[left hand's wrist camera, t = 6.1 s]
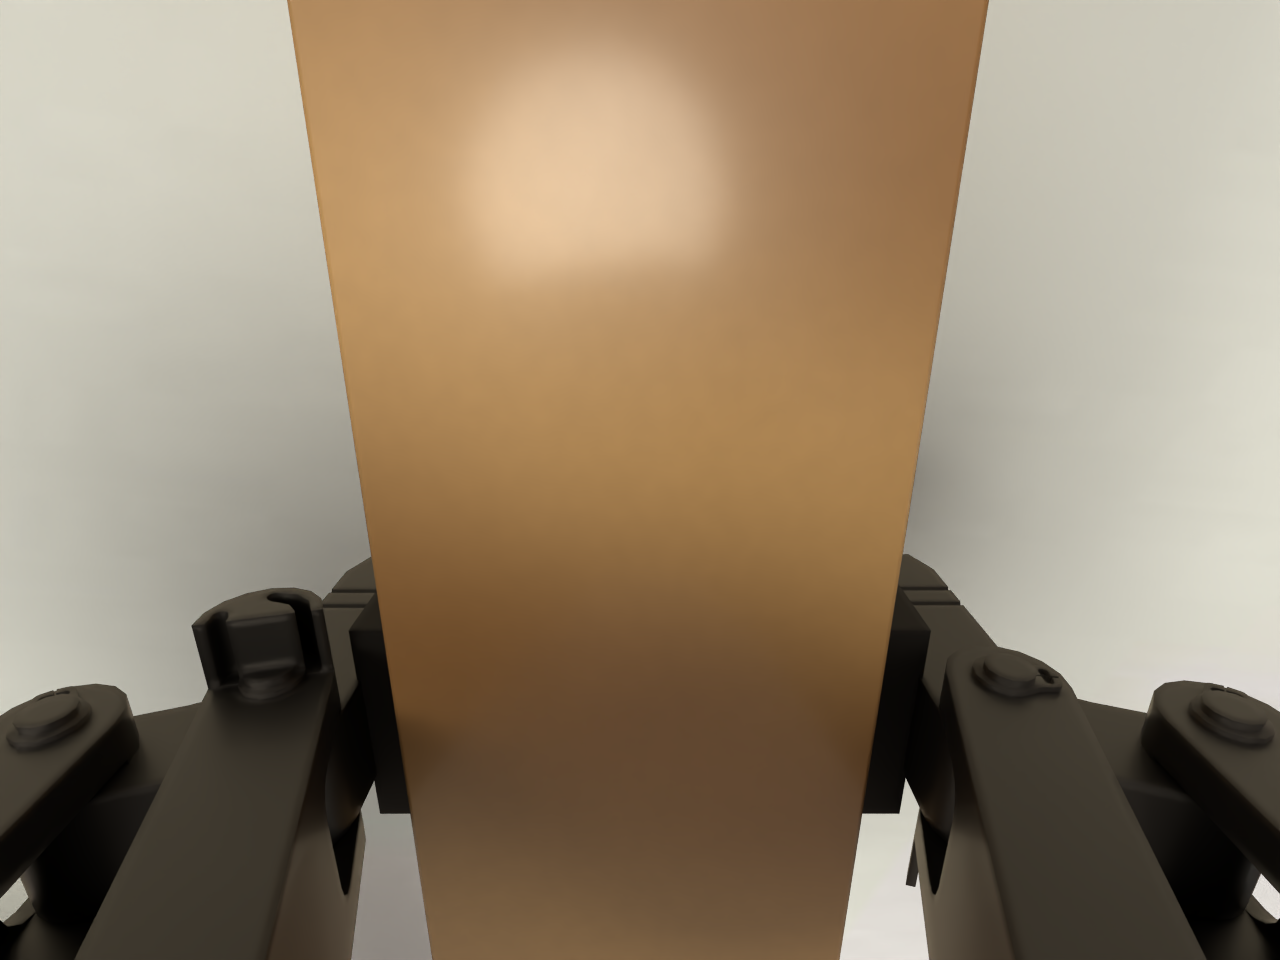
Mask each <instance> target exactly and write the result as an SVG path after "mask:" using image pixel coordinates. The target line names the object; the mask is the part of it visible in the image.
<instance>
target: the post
mask: <svg viewBox="0 0 1280 960" xmlns="http://www.w3.org/2000/svg"><path fill="white" fill-rule="evenodd" d="M287 2H288V9H289V15H290V22H291V29H292V35H293V42H294V48H295V55H296V62H297V68H298V75H299V81H300V88H301V95H302V101H303V108H304V114H305V121H306V128H307V134H308V141H309V147H310V154H311V161H312V167H313V174H314V180H315V187H316V194H317V200H318V207H319V213H320V220H321V227H322V233H323V240H324V246H325V253H326V260H327V266H328V273H329V279H330V286H331V293H332V299H333V306H334V312H335V319H336V326H337V332H338V339H339V345H340V352H341V359H342V365H343V372H344V379H345V385H346V392H347V398H348V405H349V412H350V418H351V425H352V431H353V438H354V445H355V451H356V458H357V464H358V471H359V478H360V484H361V491H362V497H363V504H364V511H365V517H366V524H367V530H368V537H369V544H370V550H371V557H372V563H373V570H374V577H375V583H376V590H377V596H378V603H379V610H380V616H381V623H382V629H383V636H384V643H385V649H386V656H387V662H388V669H389V676H390V682H391V689H392V695H393V702H394V709H395V715H396V722H397V728H398V735H399V742H400V748H401V755H402V762H403V768H404V775H405V781H406V788H407V795H408V801H409V808H410V814H411V821H412V828H413V834H414V841H415V847H416V854H417V861H418V867H419V874H420V880H421V887H422V894H423V900H424V907H425V913H426V920H427V927H428V933H429V940H430V946H431V953H432V960H839V959H840V952H841V946H842V940H843V933H844V927H845V920H846V914H847V907H848V901H849V895H850V888H851V882H852V875H853V869H854V863H855V856H856V850H857V843H858V837H859V830H860V824H861V818H862V811H863V805H864V798H865V792H866V786H867V779H868V773H869V766H870V760H871V753H872V747H873V741H874V734H875V728H876V721H877V715H878V708H879V702H880V696H881V689H882V683H883V676H884V670H885V664H886V657H887V651H888V644H889V638H890V631H891V625H892V619H893V612H894V606H895V599H896V593H897V587H898V580H899V574H900V567H901V561H902V554H903V548H904V542H905V535H906V529H907V522H908V516H909V510H910V503H911V497H912V490H913V484H914V477H915V471H916V465H917V458H918V452H919V445H920V439H921V433H922V426H923V420H924V413H925V407H926V400H927V394H928V388H929V381H930V375H931V368H932V362H933V355H934V349H935V343H936V336H937V330H938V323H939V317H940V311H941V304H942V298H943V291H944V285H945V278H946V272H947V266H948V259H949V253H950V246H951V240H952V234H953V227H954V221H955V214H956V208H957V201H958V195H959V189H960V182H961V176H962V169H963V163H964V157H965V150H966V144H967V137H968V131H969V124H970V118H971V112H972V105H973V99H974V92H975V86H976V80H977V73H978V67H979V60H980V54H981V47H982V41H983V35H984V28H985V22H986V15H987V9H988V2H989V0H287Z"/></svg>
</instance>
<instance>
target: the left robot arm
mask: <svg viewBox="0 0 1280 960" xmlns="http://www.w3.org/2000/svg"><path fill="white" fill-rule="evenodd" d="M192 629H193V633H194V637H195V641H196V644H197V648H198V652H199V655H200V659H201V663H202V667H203V670H204V674H205V678H206V682H207V685H208V691H207V693H206V695H205V697H204V699H203V701H202V702H200V703H196V704H192V705H188V706H183V707H178V708H173V709H168V710H163V711H158V712H153V713H148V714H143V715H138V716H133V714H132V711H131V708H130V705H129V702H128V698H127V695H126V694H125V693H124V692H123V691H121V690H120V689H118V688H117V687H116V686H109V685H102V684H90V685H82V686H70V687H65V688H61V689H57V691H50V692H47V693H44V694H41V695H38V696H36V697H35V698H33V699H32V700H29V701H27V702H25V703H23V704H21V705H18V706H16V707H14V708H12V709H10V710H9V711H7V712H6V713H4V714H3V715H1V716H0V898H1V897H2V896H3V895H4V894H5V893H6V892H7V891H8V889H9V888H10V887H11V886H12V885H13V884H14V883H15V882H16V881H17V880H18V879H19V877H20V879H21V881H22V883H23V885H24V888H25V890H26V892H27V895H28V897H29V898H28V899H27V900H26V901H25V902H24V903H23V904H22V906H21V907H20V908H19V909H18V910H17V911H16V912H15V913H14V914H13V915H12V916H10V917H9V918H8V919H7V920H6V921H4V922H2V921H1V920H0V960H351V955H352V947H353V939H354V931H355V923H356V915H357V907H358V899H359V890H360V882H361V874H362V866H363V858H364V850H365V842H366V838H365V831H364V824H363V819H362V813H361V807H362V805H363V803H364V801H365V799H366V797H367V795H368V793H369V790H370V788H371V786H372V784H373V782H374V781H375V786H376V792H377V798H378V804H379V809H380V814H410V808H409V801H408V795H407V788H406V781H405V775H404V768H403V762H402V755H401V748H400V742H399V735H398V728H397V722H396V715H395V709H394V702H393V695H392V689H391V682H390V676H389V669H388V662H387V656H386V649H385V643H384V636H383V629H382V623H381V616H380V610H379V603H378V596H377V590H376V583H375V577H374V570H373V563H372V557H370V558H368V559H367V560H365V561H363V562H362V563H360V564H358V565H357V566H355V567H354V568H352V569H350V570H349V571H347V572H346V573H345V574H344V575H343V577H342V578H341V579H340V580H339V581H338V583H337V584H336V585H335V586H334V588H333V589H332V593H329V594H328V595H327V596H326V597H325V598H324V600H323V601H322V599H321V598H320V597H318V596H317V595H316V594H314V593H313V592H312V591H308V590H303V589H298V588H271V589H266V590H261V591H256V592H251V593H247V594H244V595H241V596H238V597H235V598H233V599H230V600H227V601H224V602H222V603H221V604H219V605H217V606H215V607H214V608H212V609H210V610H208V611H207V612H205V613H204V614H203V615H202V616H201V617H200V618H199V619H198V620H197V621H196V622H195V623H194V624H193V625H192ZM905 778H906V779H907V781H908V784H909V786H910V788H911V790H912V792H913V794H914V796H915V798H916V801H917V803H918V805H919V807H920V808H919V813H918V819H917V824H916V829H915V835H914V840H913V846H912V851H911V856H910V862H909V867H908V873H907V880H906V885H909V886H913V887H915V886H916V881H917V875H918V872H919V881H920V889H921V897H922V905H923V913H924V921H925V929H926V937H927V945H928V953H929V960H1280V918H1279V919H1278V920H1277V919H1275V918H1274V917H1273V916H1272V915H1271V914H1270V913H1269V912H1268V911H1266V910H1265V909H1264V908H1263V906H1262V905H1261V904H1260V903H1259V902H1258V901H1257V900H1256V899H1255V897H1254V896H1253V895H1252V893H1253V891H1254V888H1255V886H1256V884H1257V881H1258V879H1259V877H1260V875H1261V874H1262V875H1263V876H1264V877H1265V878H1266V879H1267V880H1268V881H1269V882H1270V884H1271V885H1272V886H1273V887H1274V888H1275V889H1276V890H1277V891H1278V892H1279V893H1280V712H1279V711H1277V710H1276V709H1274V708H1273V707H1271V706H1270V705H1268V704H1266V703H1263V702H1261V701H1259V700H1257V699H1254V698H1252V697H1250V696H1248V695H1247V694H1245V693H1243V692H1241V691H1238V690H1235V689H1232V688H1229V687H1227V688H1224V686H1221V685H1217V684H1212V683H1201V682H1193V681H1177V682H1169V683H1164V684H1163V685H1162V686H1160V687H1159V688H1157V689H1156V690H1155V691H1154V693H1153V696H1152V699H1151V703H1150V706H1149V709H1148V712H1147V713H1143V712H1138V711H1133V710H1128V709H1123V708H1118V707H1113V706H1108V705H1102V704H1097V703H1092V702H1088V701H1084V700H1080V699H1077V697H1076V695H1075V693H1074V691H1073V689H1072V688H1071V686H1070V685H1069V684H1068V683H1067V681H1066V680H1065V679H1064V678H1063V677H1062V675H1061V674H1060V673H1058V672H1057V671H1055V670H1054V669H1052V668H1051V667H1049V666H1048V665H1047V664H1045V663H1044V662H1042V661H1040V660H1038V659H1035V658H1033V657H1030V656H1028V655H1026V654H1023V653H1021V652H1018V651H1014V650H1009V649H1005V648H1001V647H997V645H996V644H995V643H994V642H993V641H992V639H991V638H990V637H989V636H988V635H987V633H986V632H985V631H984V630H983V629H982V627H981V626H980V625H979V624H978V623H977V621H976V620H975V619H974V618H973V616H972V615H971V614H970V613H969V612H968V610H967V609H966V608H965V607H964V606H963V605H960V601H959V600H958V598H957V597H956V596H955V595H954V594H953V592H952V591H951V590H948V586H947V585H946V584H945V583H944V581H943V580H942V579H941V578H940V577H939V575H938V574H937V573H936V572H935V571H934V569H932V568H930V567H929V566H927V565H925V564H924V563H922V562H920V561H919V560H917V559H915V558H914V557H912V556H910V555H909V554H902V561H901V567H900V574H899V580H898V587H897V593H896V599H895V606H894V612H893V619H892V625H891V631H890V638H889V644H888V651H887V657H886V664H885V670H884V676H883V683H882V689H881V696H880V702H879V708H878V715H877V721H876V728H875V734H874V741H873V747H872V753H871V760H870V766H869V773H868V779H867V786H866V792H865V798H864V805H863V811H862V814H899V812H900V807H901V801H902V795H903V789H904V784H905Z"/></svg>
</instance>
